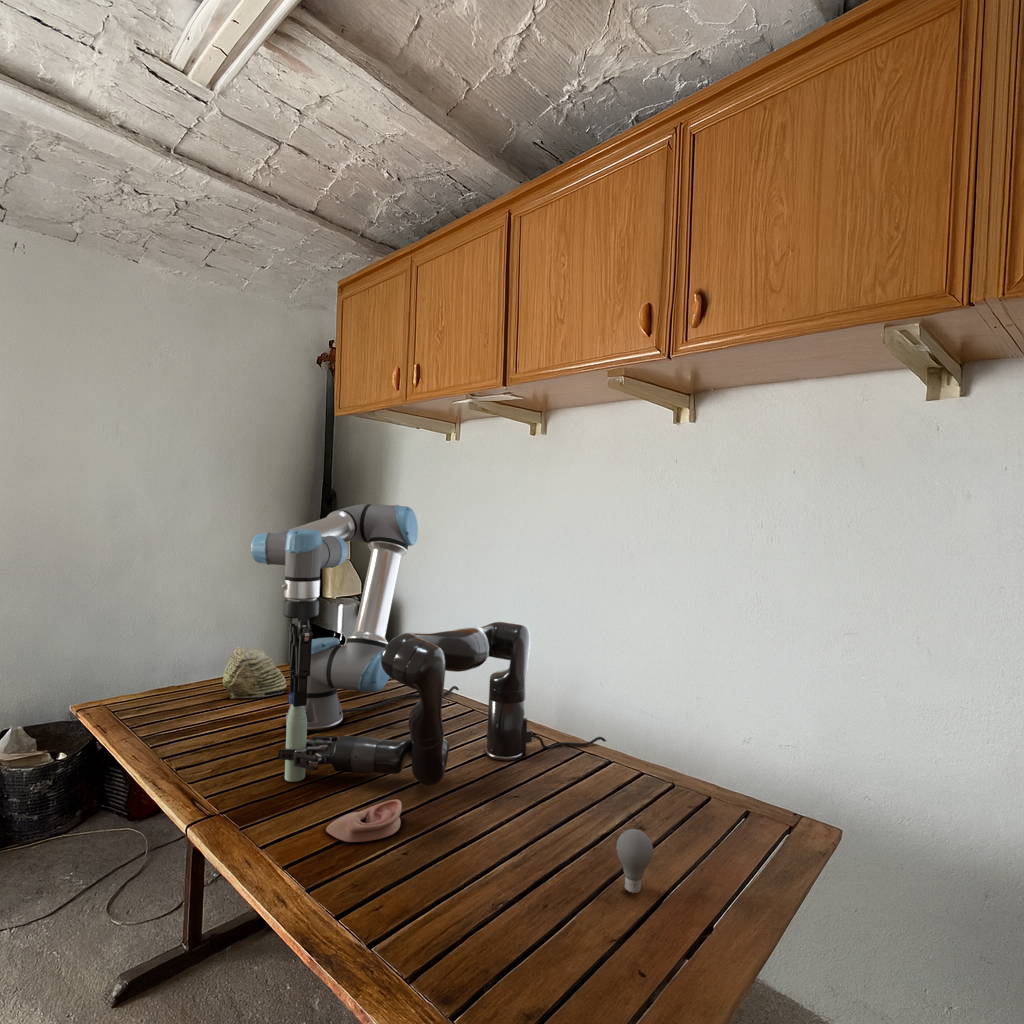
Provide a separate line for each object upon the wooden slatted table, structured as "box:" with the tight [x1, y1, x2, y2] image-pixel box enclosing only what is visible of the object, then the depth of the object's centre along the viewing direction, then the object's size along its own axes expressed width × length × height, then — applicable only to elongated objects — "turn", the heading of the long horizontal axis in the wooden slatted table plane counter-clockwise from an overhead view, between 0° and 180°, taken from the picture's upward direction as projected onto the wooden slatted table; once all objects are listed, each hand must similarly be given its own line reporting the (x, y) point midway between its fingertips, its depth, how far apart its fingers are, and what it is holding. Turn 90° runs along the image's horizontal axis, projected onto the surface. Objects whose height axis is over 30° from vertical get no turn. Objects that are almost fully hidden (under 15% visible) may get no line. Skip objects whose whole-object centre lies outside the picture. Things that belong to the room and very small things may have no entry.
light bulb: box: [615, 828, 654, 894], centre depth 106 cm, size 6×6×10 cm
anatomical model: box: [325, 799, 403, 843], centre depth 122 cm, size 13×4×12 cm
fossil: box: [222, 646, 288, 699], centre depth 198 cm, size 9×18×15 cm, turn 132°
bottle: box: [284, 704, 308, 783], centre depth 142 cm, size 4×4×18 cm
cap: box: [287, 692, 294, 705], centre depth 142 cm, size 4×4×2 cm
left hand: (297, 702), depth 142 cm, fingers closed on cap, 4 cm apart
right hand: (284, 749), depth 142 cm, fingers closed on bottle, 4 cm apart
